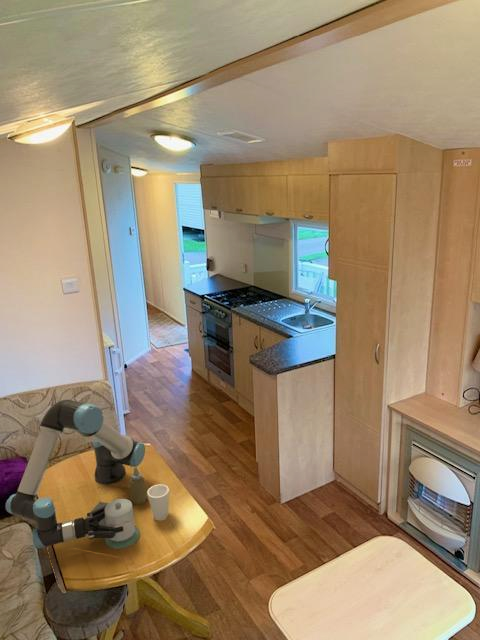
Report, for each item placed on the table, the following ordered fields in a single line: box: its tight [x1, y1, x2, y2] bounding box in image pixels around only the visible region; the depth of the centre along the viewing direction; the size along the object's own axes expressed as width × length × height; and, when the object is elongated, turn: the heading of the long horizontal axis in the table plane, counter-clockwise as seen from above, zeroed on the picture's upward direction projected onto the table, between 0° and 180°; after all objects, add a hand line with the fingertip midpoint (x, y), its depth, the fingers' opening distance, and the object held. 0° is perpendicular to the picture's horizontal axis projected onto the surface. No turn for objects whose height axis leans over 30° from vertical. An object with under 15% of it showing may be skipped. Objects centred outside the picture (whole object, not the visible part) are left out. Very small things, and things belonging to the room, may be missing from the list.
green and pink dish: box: [104, 525, 141, 550], centre depth 206 cm, size 14×14×5 cm
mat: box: [84, 501, 109, 526], centre depth 220 cm, size 16×14×1 cm
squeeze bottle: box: [129, 466, 148, 506], centre depth 226 cm, size 8×8×18 cm
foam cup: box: [147, 483, 170, 522], centre depth 217 cm, size 10×9×13 cm
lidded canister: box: [105, 498, 136, 541], centre depth 204 cm, size 11×11×14 cm
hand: (129, 515), depth 205 cm, fingers closed on lidded canister, 11 cm apart
